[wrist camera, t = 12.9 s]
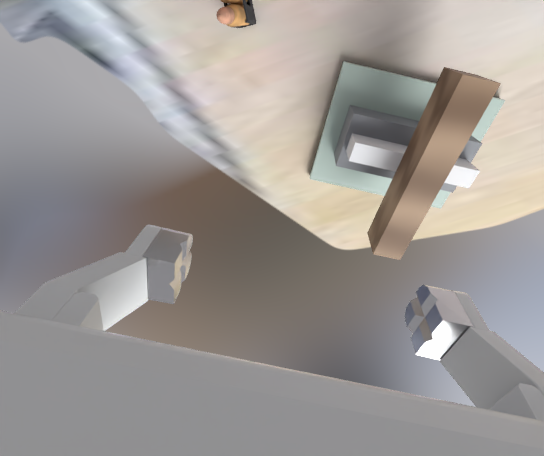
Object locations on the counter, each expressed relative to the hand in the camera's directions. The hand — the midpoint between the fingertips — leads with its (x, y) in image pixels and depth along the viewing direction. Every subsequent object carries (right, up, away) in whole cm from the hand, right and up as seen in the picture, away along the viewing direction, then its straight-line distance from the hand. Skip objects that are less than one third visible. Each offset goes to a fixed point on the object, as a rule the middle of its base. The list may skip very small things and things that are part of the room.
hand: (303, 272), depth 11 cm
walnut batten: (+13, +8, +21) cm, 26 cm away
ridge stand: (+14, +12, +28) cm, 34 cm away
